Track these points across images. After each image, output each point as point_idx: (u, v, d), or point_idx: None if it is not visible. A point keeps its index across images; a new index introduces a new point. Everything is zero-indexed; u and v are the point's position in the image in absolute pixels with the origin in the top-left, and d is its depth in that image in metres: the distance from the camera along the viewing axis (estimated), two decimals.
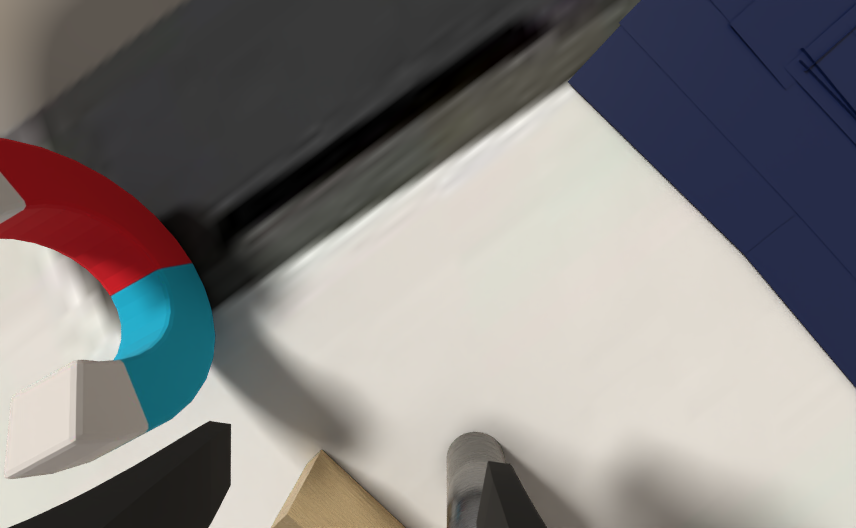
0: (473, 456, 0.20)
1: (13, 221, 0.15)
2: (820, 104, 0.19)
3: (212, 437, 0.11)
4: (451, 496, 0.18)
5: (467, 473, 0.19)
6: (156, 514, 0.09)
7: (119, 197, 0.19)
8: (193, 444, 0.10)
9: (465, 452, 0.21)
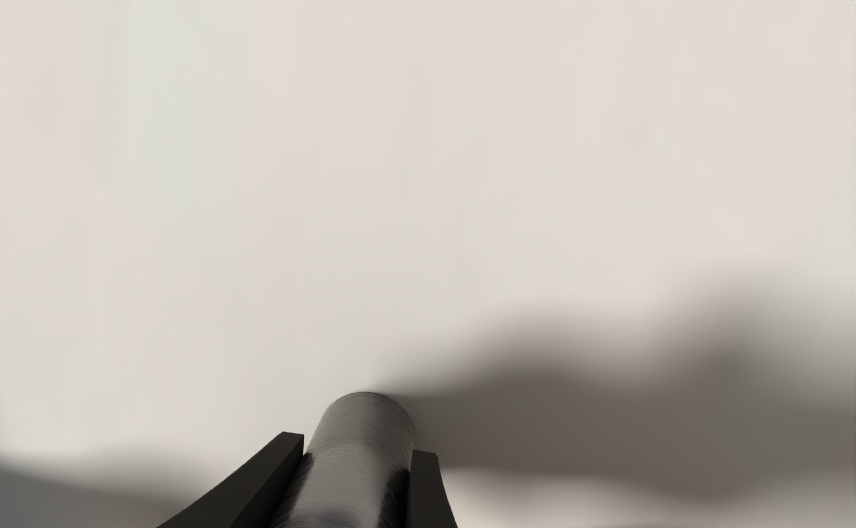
0: (306, 456, 0.11)
1: None
2: None
3: (292, 449, 0.11)
4: None
5: (281, 502, 0.10)
6: None
7: None
8: (276, 456, 0.10)
9: None
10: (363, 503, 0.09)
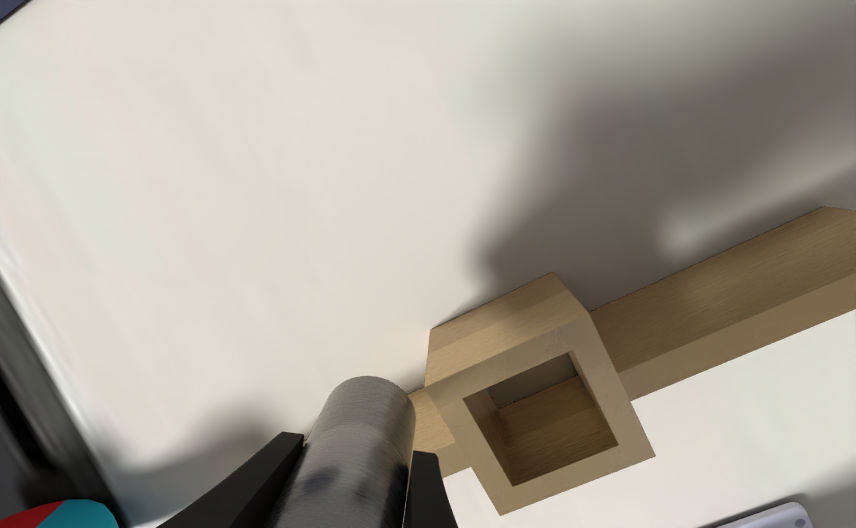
0: (308, 437, 0.12)
1: None
2: None
3: (291, 448, 0.11)
4: None
5: None
6: None
7: None
8: (275, 456, 0.10)
9: None
10: (361, 469, 0.10)
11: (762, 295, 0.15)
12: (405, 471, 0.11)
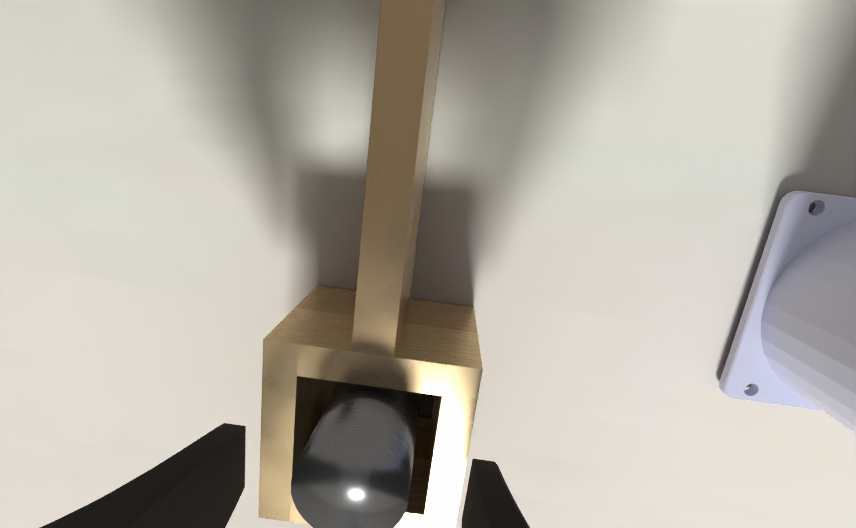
0: None
1: None
2: None
3: (228, 439, 0.11)
4: None
5: (332, 393, 0.14)
6: (175, 517, 0.09)
7: None
8: (209, 446, 0.10)
9: None
10: None
11: None
12: (419, 393, 0.15)
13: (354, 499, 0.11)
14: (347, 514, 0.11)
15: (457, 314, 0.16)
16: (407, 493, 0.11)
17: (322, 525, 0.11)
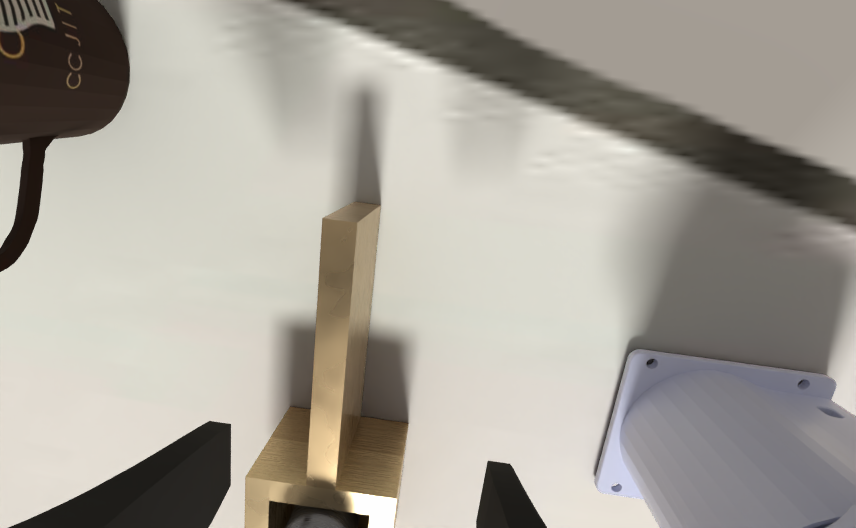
0: None
1: None
2: None
3: (212, 437, 0.11)
4: None
5: None
6: (156, 514, 0.09)
7: None
8: (193, 444, 0.10)
9: None
10: None
11: None
12: None
13: None
14: None
15: (393, 434, 0.21)
16: None
17: None
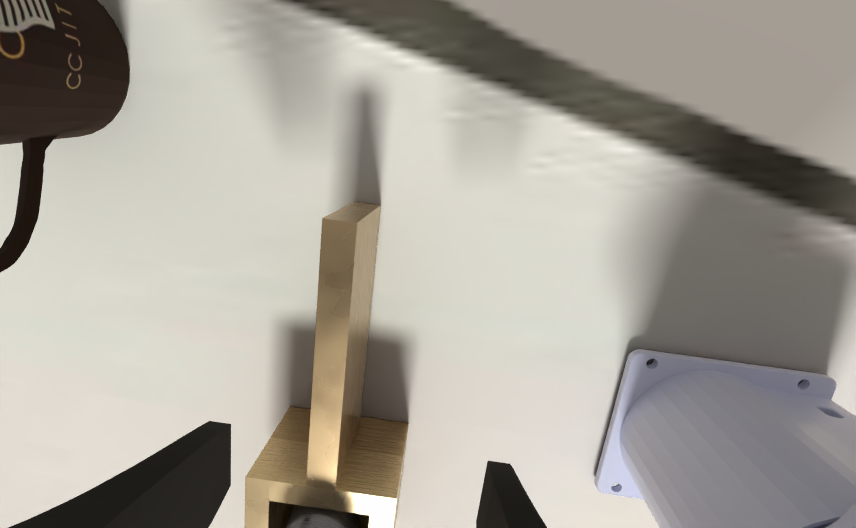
0: None
1: None
2: None
3: (212, 437, 0.11)
4: None
5: None
6: (156, 514, 0.09)
7: None
8: (193, 444, 0.10)
9: None
10: None
11: None
12: None
13: None
14: None
15: (393, 434, 0.21)
16: None
17: None
